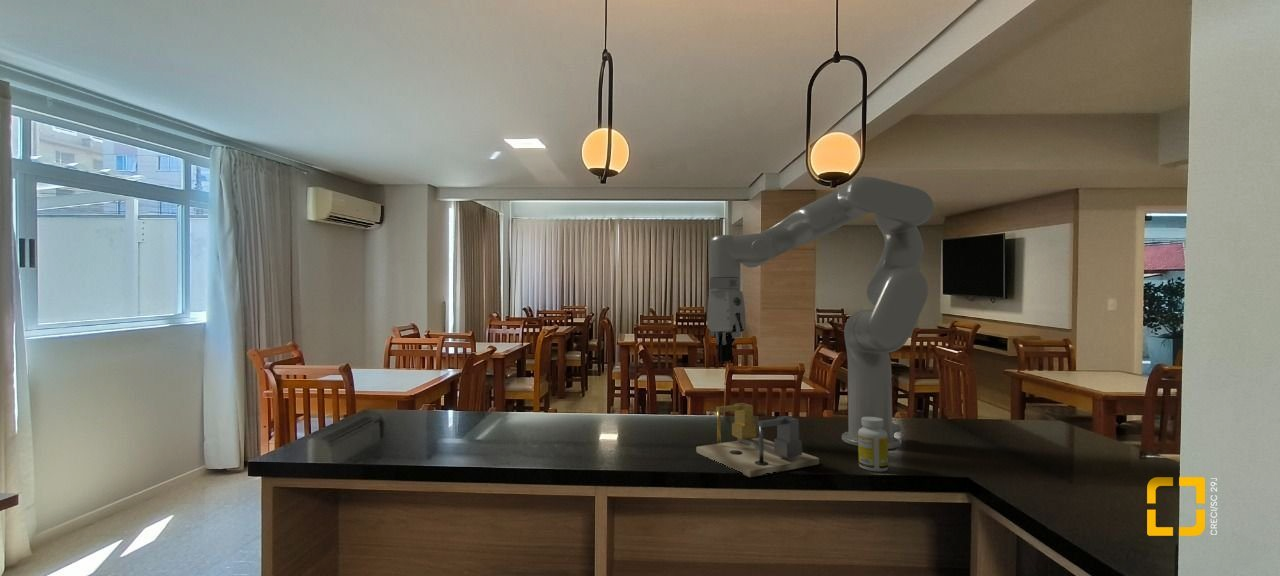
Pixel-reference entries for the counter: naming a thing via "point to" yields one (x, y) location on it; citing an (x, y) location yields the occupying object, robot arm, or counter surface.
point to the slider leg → (738, 421)
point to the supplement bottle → (873, 445)
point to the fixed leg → (782, 437)
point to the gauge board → (754, 457)
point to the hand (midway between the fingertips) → (724, 360)
